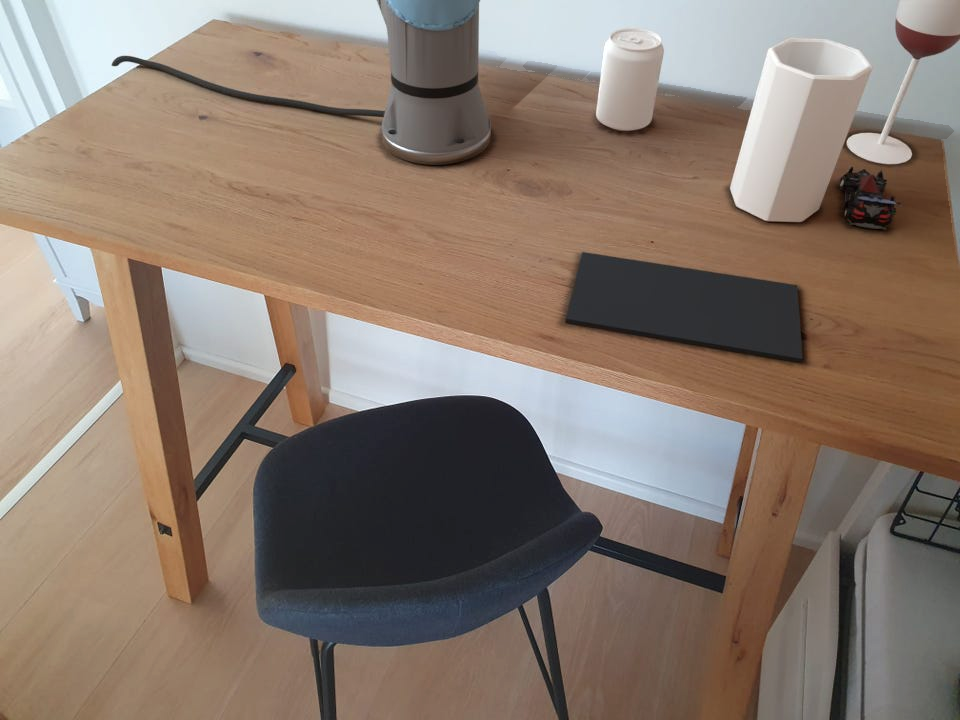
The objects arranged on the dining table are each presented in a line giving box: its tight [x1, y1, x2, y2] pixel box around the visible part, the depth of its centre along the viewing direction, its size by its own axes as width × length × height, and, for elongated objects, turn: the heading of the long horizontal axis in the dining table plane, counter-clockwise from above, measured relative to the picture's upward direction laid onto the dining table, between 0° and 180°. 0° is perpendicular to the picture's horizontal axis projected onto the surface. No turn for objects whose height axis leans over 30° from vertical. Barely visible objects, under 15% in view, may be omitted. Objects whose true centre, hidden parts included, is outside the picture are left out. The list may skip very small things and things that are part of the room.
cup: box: [729, 37, 873, 223], centre depth 91 cm, size 11×11×18 cm
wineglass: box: [846, 0, 960, 165], centre depth 99 cm, size 9×10×23 cm
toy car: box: [839, 165, 902, 231], centre depth 96 cm, size 6×12×4 cm, turn 166°
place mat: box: [564, 251, 804, 364], centre depth 83 cm, size 24×12×1 cm, turn 76°
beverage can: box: [595, 27, 665, 132], centre depth 108 cm, size 8×8×12 cm
